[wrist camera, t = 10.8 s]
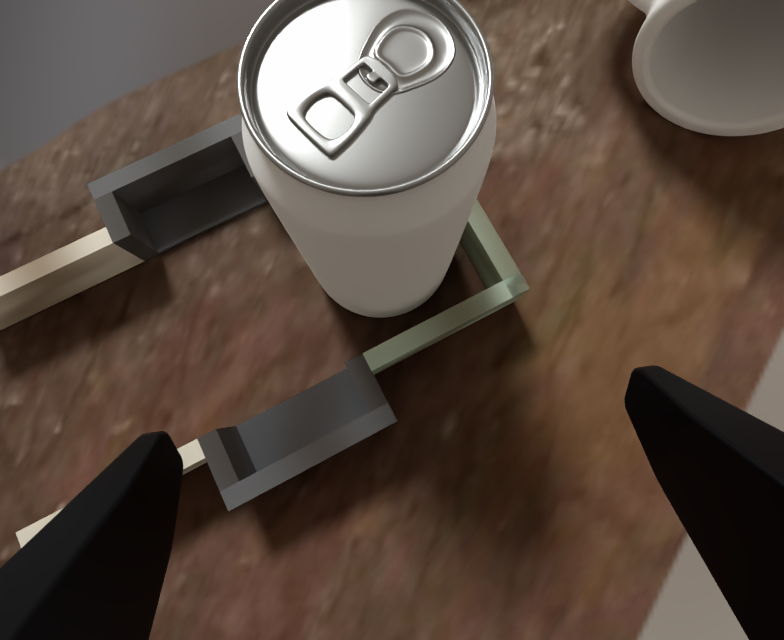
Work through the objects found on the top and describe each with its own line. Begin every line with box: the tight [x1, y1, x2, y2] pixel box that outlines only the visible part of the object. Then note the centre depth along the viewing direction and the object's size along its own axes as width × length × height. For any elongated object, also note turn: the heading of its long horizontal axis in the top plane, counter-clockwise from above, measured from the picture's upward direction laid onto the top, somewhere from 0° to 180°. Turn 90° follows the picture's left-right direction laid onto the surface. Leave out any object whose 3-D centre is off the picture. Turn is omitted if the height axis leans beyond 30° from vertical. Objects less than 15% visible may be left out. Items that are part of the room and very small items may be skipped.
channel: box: [0, 114, 530, 548], centre depth 20 cm, size 22×15×2 cm
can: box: [237, 0, 497, 318], centre depth 16 cm, size 6×6×12 cm
